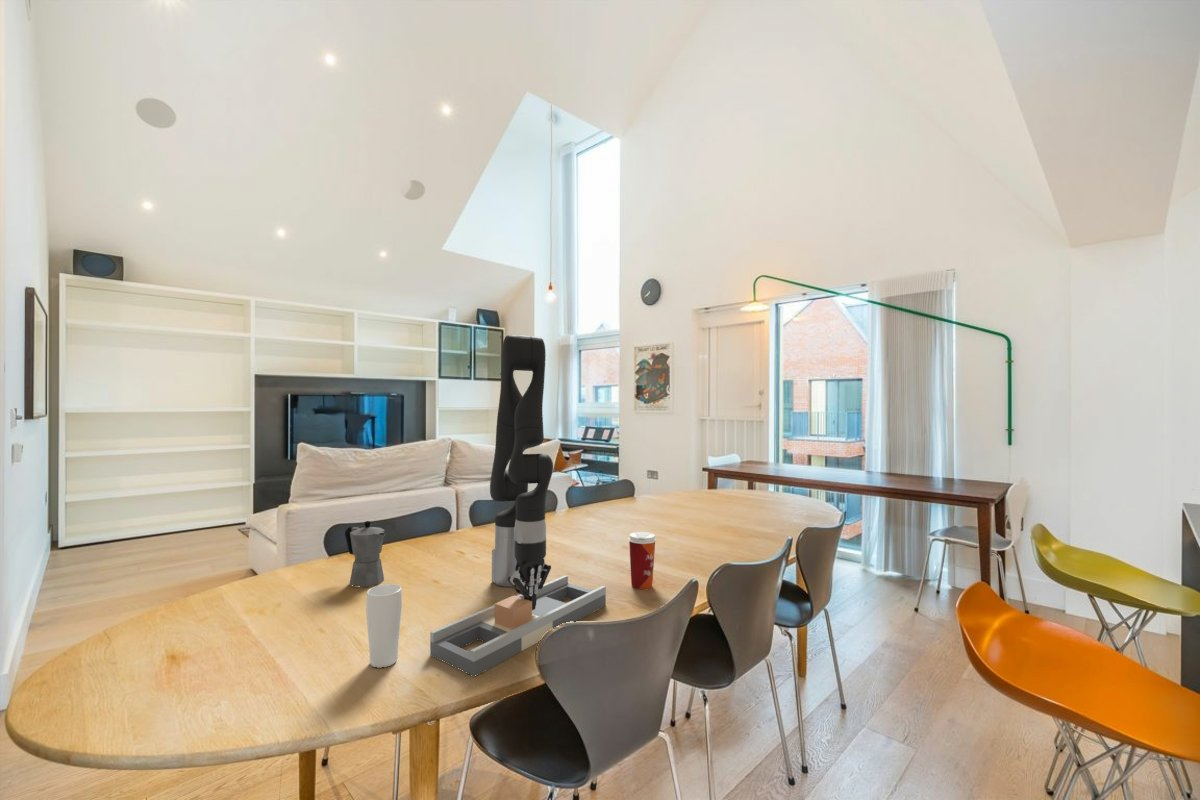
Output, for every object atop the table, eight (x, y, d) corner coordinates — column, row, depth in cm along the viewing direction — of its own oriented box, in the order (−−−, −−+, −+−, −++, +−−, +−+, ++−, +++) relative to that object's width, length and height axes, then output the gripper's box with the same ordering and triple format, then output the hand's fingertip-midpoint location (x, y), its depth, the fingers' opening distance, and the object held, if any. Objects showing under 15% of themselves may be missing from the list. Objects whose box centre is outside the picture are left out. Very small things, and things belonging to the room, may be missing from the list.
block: (513, 614, 123) (513, 595, 123) (531, 620, 119) (532, 601, 119) (494, 623, 118) (494, 603, 118) (513, 630, 114) (513, 609, 114)
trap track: (565, 593, 144) (565, 575, 144) (605, 605, 136) (605, 586, 136) (430, 655, 109) (430, 631, 109) (473, 677, 100) (474, 651, 100)
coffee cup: (654, 592, 145) (655, 539, 145) (625, 590, 147) (626, 537, 147) (657, 582, 153) (657, 532, 153) (629, 580, 155) (630, 530, 155)
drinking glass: (391, 651, 110) (391, 581, 110) (407, 661, 106) (408, 589, 106) (359, 663, 105) (360, 590, 105) (376, 674, 101) (376, 598, 101)
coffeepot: (396, 580, 153) (396, 520, 153) (370, 591, 144) (371, 527, 144) (358, 572, 159) (358, 514, 159) (331, 582, 150) (332, 521, 150)
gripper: (537, 529, 130) (537, 597, 130) (498, 540, 120) (498, 615, 120) (560, 534, 126) (559, 604, 126) (522, 546, 115) (521, 623, 115)
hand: (529, 609), depth 123 cm, fingers closed
